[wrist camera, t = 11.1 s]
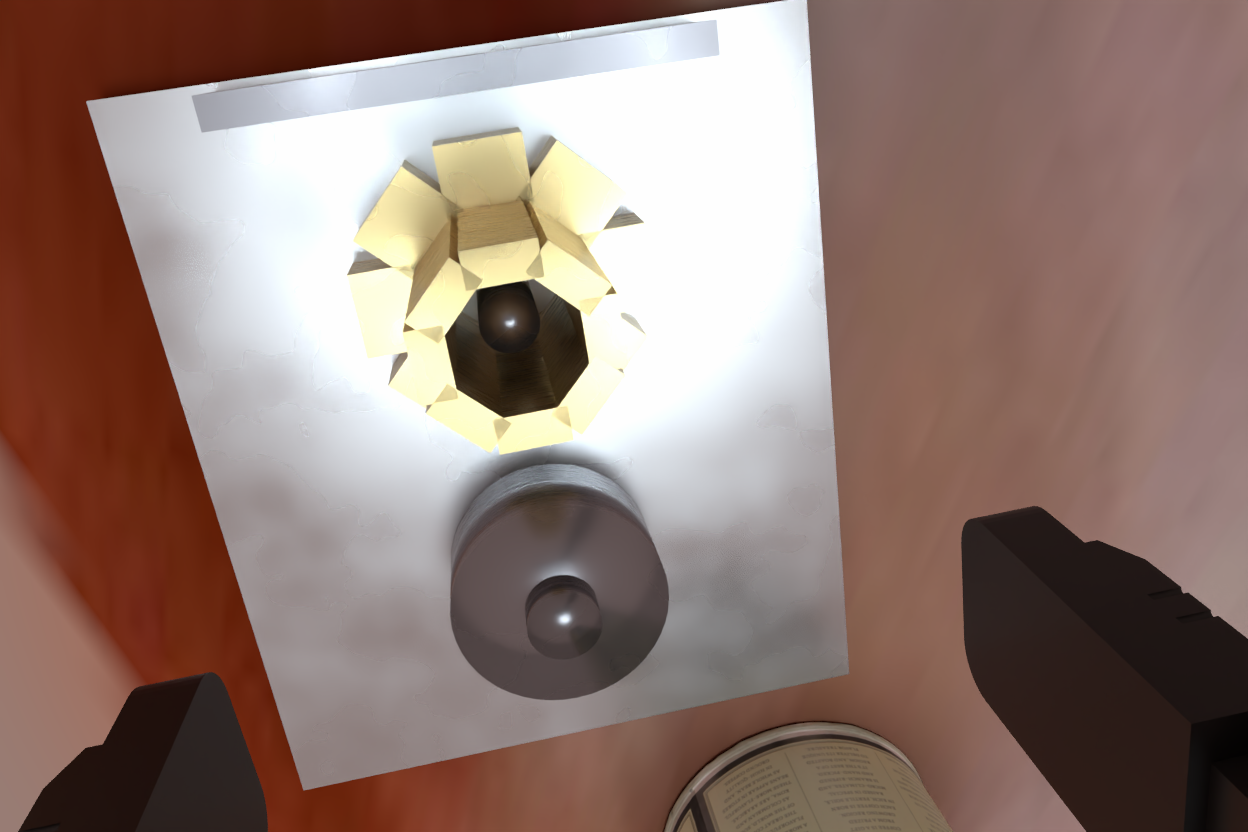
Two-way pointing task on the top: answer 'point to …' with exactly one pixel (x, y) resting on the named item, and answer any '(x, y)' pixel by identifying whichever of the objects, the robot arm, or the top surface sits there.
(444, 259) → the gear
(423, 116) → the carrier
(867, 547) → the top surface
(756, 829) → the coffee can
